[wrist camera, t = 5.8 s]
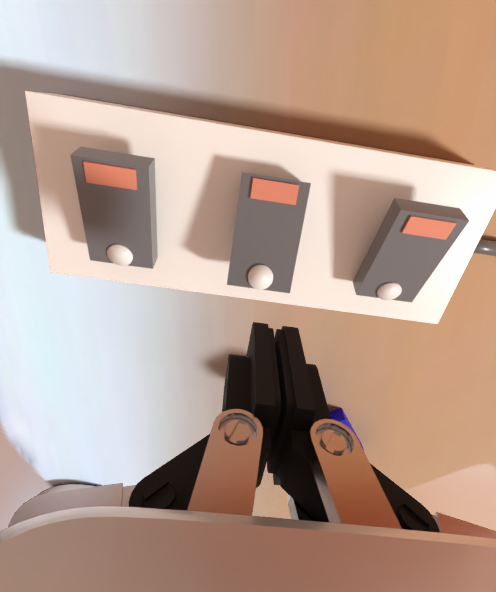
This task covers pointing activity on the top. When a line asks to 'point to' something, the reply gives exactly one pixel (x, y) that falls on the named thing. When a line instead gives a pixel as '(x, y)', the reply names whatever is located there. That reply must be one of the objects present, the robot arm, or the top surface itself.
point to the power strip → (225, 192)
